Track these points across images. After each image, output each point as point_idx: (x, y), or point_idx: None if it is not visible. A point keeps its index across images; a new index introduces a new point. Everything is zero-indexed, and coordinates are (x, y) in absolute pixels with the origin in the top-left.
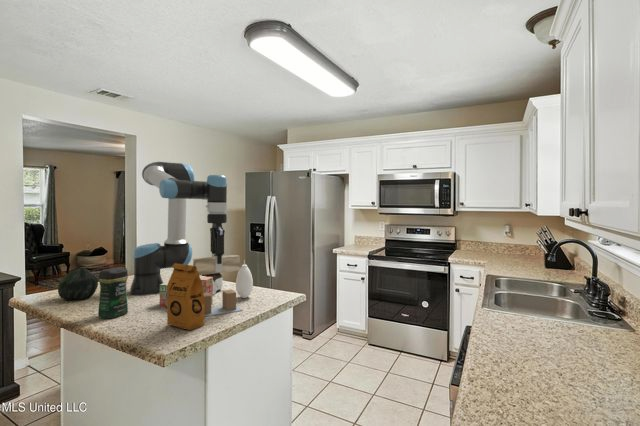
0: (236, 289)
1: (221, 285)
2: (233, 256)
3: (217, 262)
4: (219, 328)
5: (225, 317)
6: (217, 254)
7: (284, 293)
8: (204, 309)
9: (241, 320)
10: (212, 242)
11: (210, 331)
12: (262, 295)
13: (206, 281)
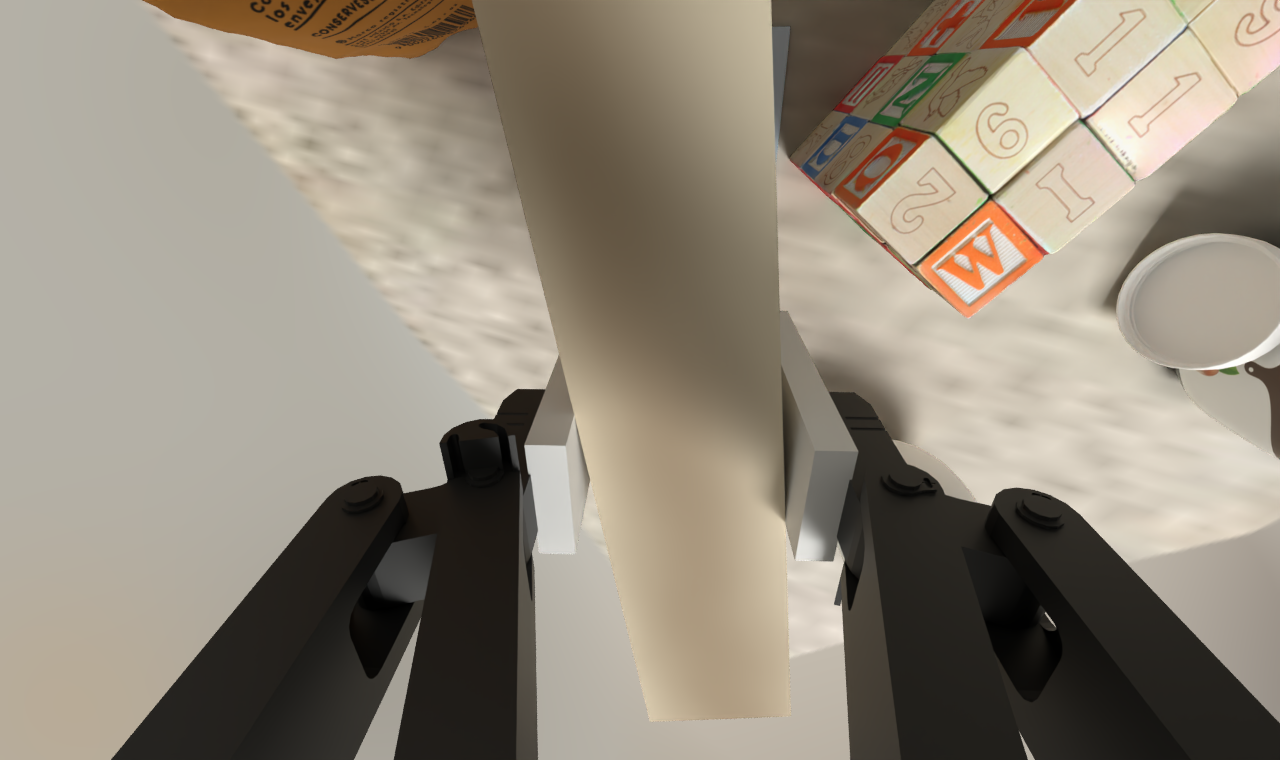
0: (906, 451)
1: (1204, 408)
2: (647, 663)
3: (541, 399)
4: (305, 139)
5: (508, 233)
6: (369, 477)
7: (793, 637)
8: (354, 55)
9: (415, 302)
10: (980, 753)
11: (261, 67)
12: (837, 548)
13: (856, 212)
